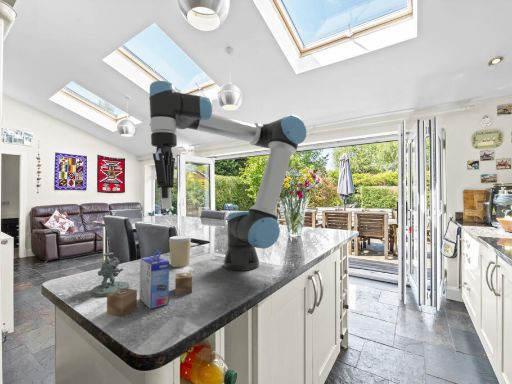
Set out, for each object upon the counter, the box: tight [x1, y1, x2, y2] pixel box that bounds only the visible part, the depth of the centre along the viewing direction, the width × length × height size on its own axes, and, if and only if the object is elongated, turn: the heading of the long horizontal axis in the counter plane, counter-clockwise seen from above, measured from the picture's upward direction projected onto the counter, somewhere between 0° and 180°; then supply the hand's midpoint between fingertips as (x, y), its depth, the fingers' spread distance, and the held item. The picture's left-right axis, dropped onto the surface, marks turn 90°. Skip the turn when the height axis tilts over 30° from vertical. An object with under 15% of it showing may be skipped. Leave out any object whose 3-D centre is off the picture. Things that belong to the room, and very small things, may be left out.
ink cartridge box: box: [138, 249, 170, 309], centre depth 73 cm, size 10×6×14 cm, turn 41°
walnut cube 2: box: [174, 271, 193, 296], centre depth 81 cm, size 5×5×5 cm
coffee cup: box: [168, 235, 192, 268], centre depth 110 cm, size 9×9×12 cm
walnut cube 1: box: [106, 288, 138, 317], centre depth 68 cm, size 5×5×5 cm
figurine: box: [90, 251, 130, 298], centre depth 82 cm, size 11×11×12 cm
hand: (166, 208), depth 79 cm, fingers closed
